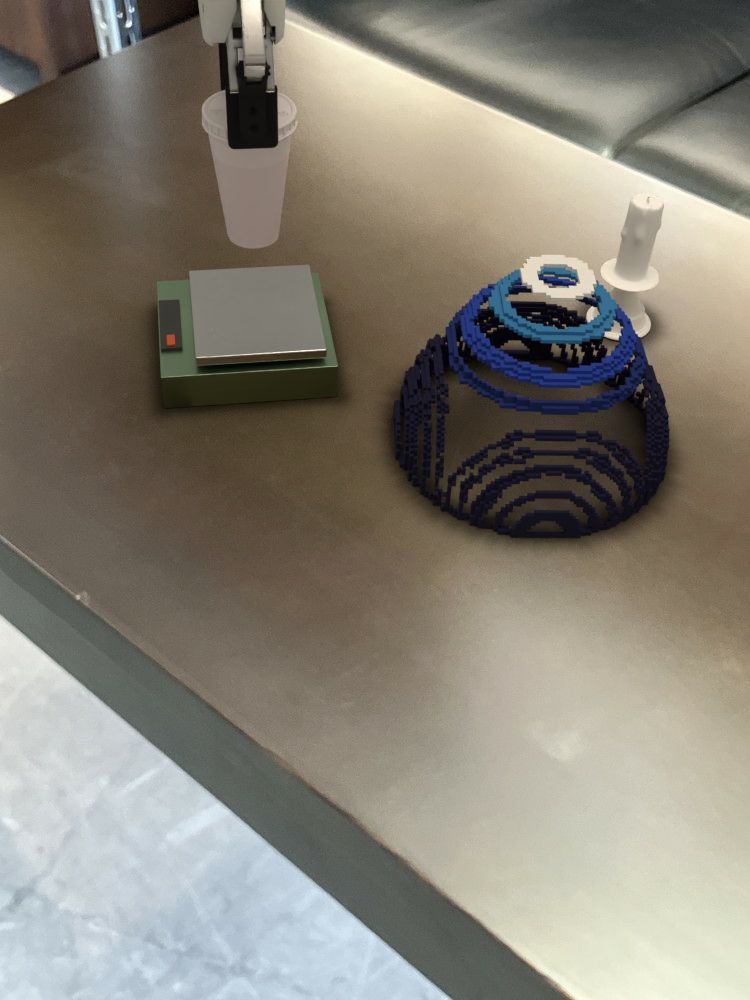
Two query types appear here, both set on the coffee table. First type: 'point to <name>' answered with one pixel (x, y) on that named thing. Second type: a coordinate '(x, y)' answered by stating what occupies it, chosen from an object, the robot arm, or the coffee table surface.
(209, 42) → the robot arm
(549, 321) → the decorative bowl
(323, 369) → the scale
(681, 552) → the coffee table surface
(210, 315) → the scale platform
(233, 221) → the smoothie
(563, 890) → the coffee table surface
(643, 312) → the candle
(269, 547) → the coffee table surface
